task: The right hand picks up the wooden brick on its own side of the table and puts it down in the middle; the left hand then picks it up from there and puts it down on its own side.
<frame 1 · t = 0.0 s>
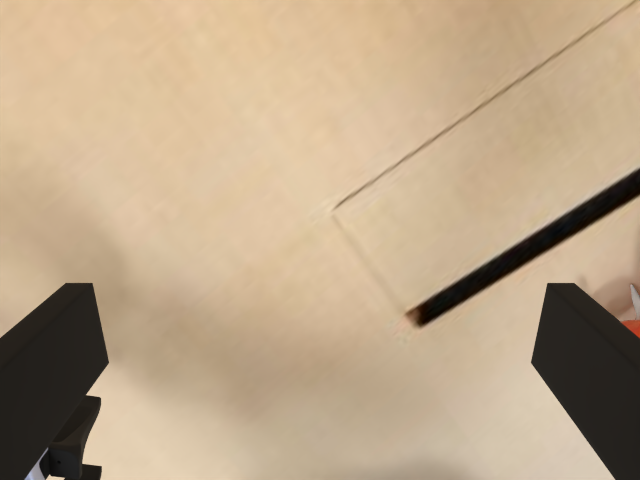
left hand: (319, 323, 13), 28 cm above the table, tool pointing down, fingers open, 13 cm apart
fish: (631, 296, 44), on the table
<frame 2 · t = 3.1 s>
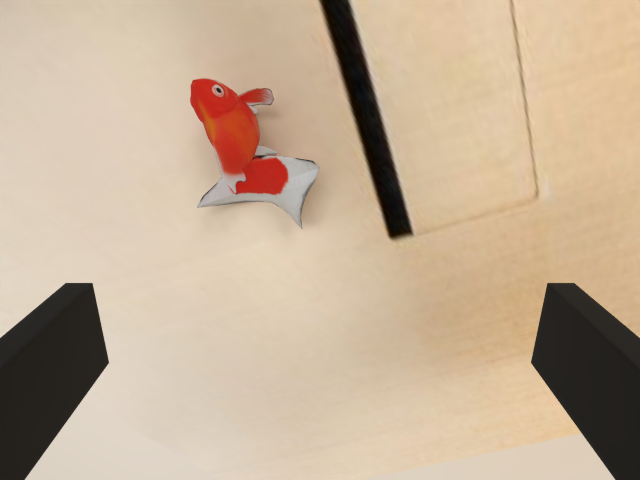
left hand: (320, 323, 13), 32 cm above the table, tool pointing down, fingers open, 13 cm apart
fish: (261, 153, 43), on the table
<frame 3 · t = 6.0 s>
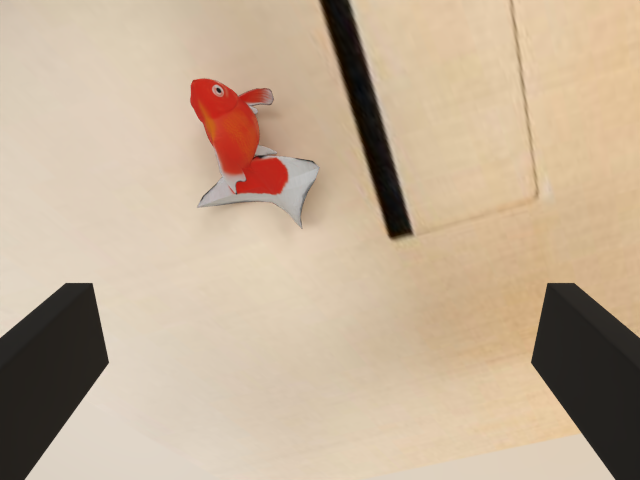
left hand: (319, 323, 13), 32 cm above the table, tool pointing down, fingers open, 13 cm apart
fish: (261, 153, 43), on the table
when the right hand's fingers open (2 cm above the table, at t = 9.0 s): brick stays where it is, on the table.
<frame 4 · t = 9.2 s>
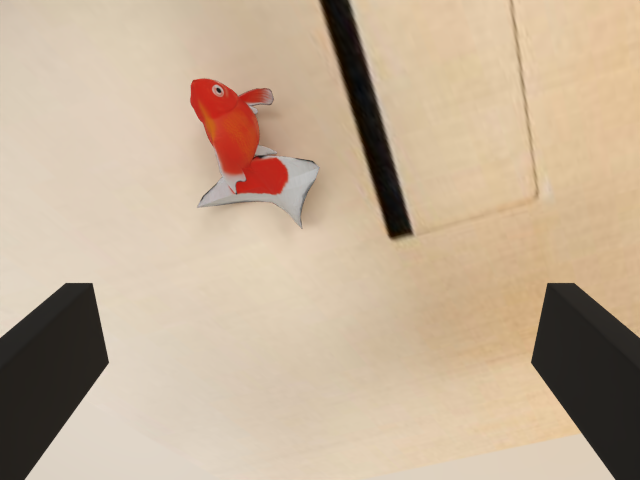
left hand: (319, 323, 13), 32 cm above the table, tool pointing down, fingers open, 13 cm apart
fish: (261, 153, 43), on the table
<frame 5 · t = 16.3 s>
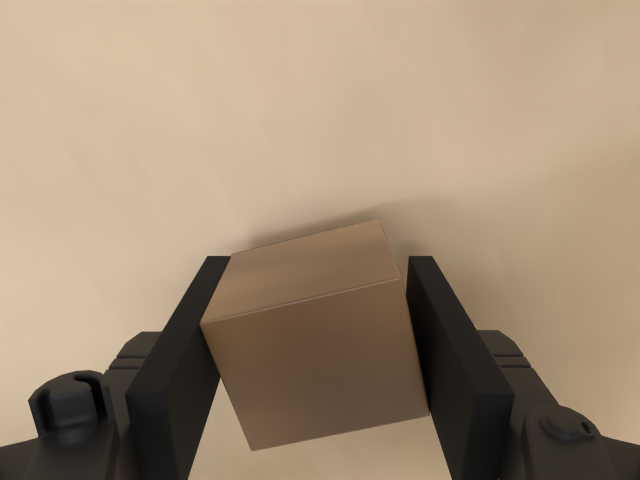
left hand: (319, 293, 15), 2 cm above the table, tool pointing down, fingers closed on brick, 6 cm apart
brick: (319, 291, 15), point 2 cm above the table, touching left hand
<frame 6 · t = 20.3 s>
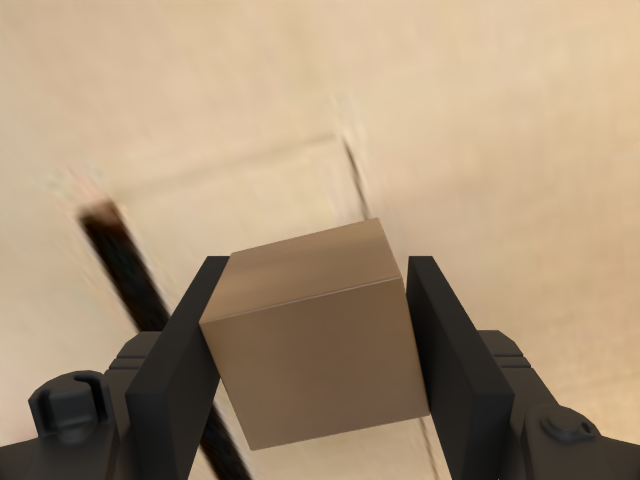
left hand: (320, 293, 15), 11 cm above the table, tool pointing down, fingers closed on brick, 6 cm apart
brick: (319, 290, 15), point 10 cm above the table, touching left hand
when the left hand's fingers open (0 cm above the table, at t = 24.1 s): brick stays where it is, on the table.
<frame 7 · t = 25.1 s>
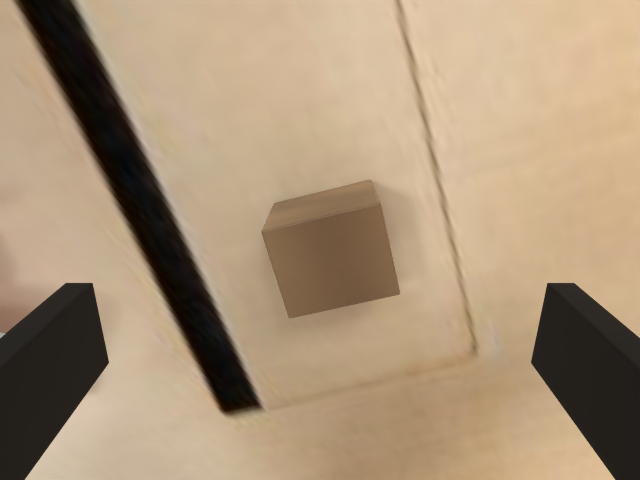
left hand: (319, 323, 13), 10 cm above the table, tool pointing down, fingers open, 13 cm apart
brick: (331, 230, 22), on the table
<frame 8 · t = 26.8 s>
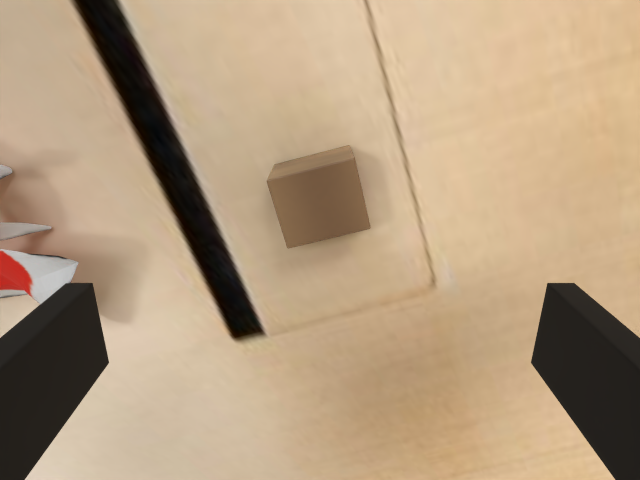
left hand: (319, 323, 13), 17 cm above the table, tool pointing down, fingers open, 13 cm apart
fish: (31, 227, 30), on the table
brick: (319, 186, 29), on the table
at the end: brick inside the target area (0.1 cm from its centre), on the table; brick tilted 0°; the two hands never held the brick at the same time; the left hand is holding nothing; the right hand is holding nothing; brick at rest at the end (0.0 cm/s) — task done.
